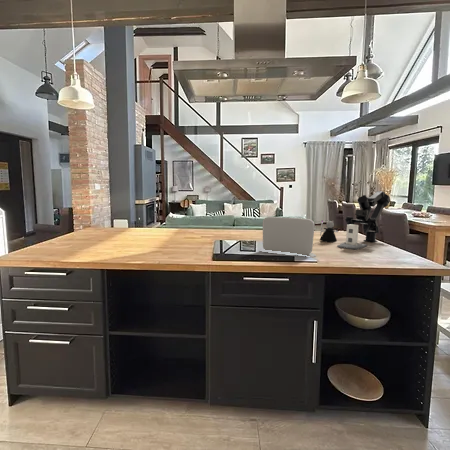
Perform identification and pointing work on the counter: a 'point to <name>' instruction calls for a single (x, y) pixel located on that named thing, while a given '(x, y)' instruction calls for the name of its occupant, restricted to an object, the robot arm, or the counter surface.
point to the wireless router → (288, 235)
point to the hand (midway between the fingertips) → (357, 232)
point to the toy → (328, 232)
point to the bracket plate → (352, 246)
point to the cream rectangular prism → (352, 234)
